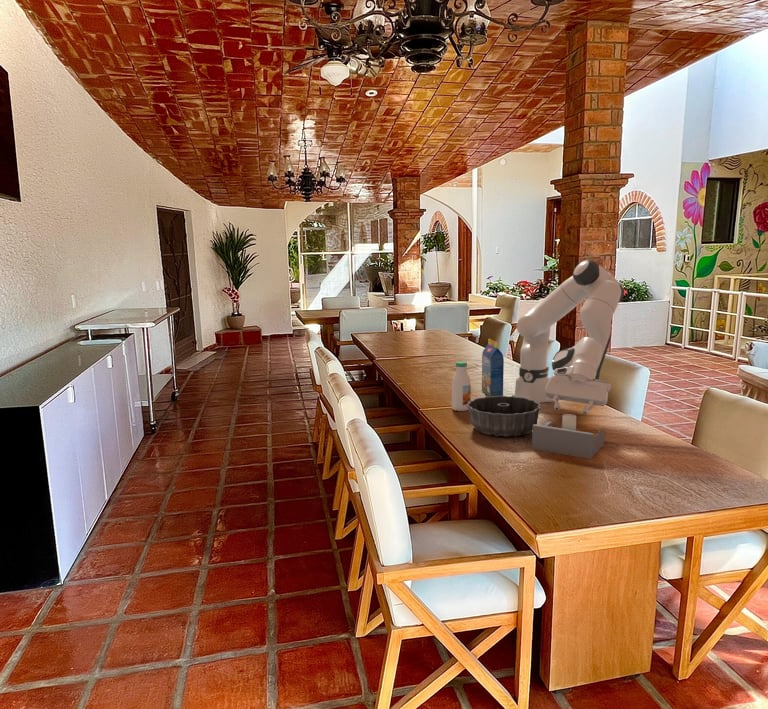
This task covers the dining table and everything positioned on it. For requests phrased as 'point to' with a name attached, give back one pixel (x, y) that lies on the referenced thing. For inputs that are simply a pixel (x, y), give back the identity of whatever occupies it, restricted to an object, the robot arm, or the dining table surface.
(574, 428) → the dome-topped cream cylinder
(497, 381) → the blue food package
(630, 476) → the dining table surface
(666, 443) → the dining table surface
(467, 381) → the milk bottle
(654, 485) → the dining table surface
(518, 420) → the bundt pan
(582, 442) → the grey open tray
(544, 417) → the dining table surface
